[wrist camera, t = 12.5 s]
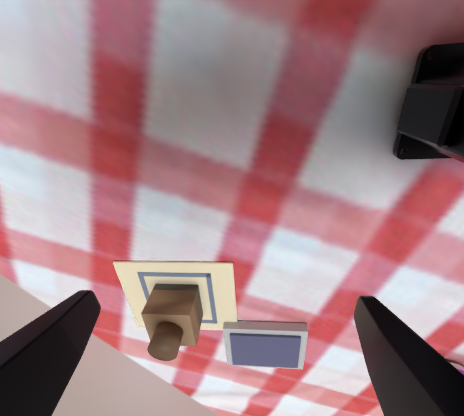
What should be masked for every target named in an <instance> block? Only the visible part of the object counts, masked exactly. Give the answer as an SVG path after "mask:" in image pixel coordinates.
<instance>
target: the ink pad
mask: <svg viewBox="0 0 464 416" xmlns="http://www.w3.org/2000/svg"><path fill="white" fill-rule="evenodd" d="M223 332H224V340H225V348H226V356H227V364H228V365H235V366H254V367H272V368H290V369H303V365H304V358H305V351H306V343H307V336H308V329H307V324H306V323H285V322H257V321H237V322H224V326H223Z"/></svg>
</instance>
